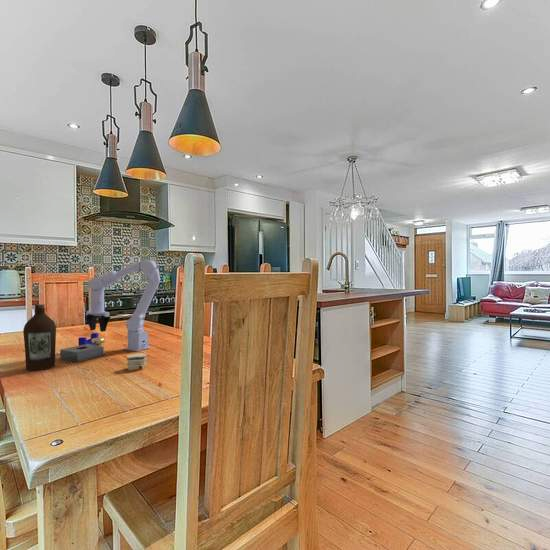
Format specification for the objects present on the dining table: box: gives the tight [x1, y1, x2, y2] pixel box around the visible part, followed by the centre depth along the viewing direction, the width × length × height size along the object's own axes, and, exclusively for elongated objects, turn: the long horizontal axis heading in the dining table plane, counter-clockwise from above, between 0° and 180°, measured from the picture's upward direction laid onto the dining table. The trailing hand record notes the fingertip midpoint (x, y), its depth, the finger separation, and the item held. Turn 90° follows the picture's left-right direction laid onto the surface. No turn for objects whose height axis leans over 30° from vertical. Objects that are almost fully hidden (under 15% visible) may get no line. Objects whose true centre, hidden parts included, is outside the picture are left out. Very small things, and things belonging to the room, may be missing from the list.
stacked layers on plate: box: [126, 352, 148, 371], centre depth 127 cm, size 10×9×6 cm
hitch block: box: [59, 344, 105, 363], centre depth 145 cm, size 12×12×4 cm
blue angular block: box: [77, 332, 99, 346], centre depth 164 cm, size 12×4×6 cm, turn 179°
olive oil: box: [22, 303, 57, 372], centre depth 129 cm, size 11×11×25 cm
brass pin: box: [91, 336, 106, 346], centre depth 157 cm, size 6×6×6 cm
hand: (97, 330), depth 157 cm, fingers open, 7 cm apart
